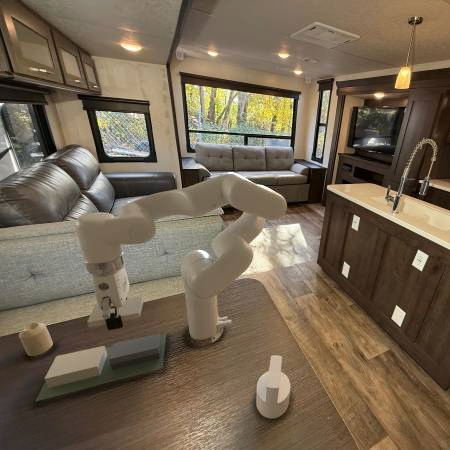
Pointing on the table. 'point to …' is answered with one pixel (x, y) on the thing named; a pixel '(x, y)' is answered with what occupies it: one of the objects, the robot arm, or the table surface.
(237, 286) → the table surface
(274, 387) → the base with upright slab
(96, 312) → the white book
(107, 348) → the shelf board
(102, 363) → the white book
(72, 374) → the white book
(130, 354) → the grey book
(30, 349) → the candle
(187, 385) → the table surface
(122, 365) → the grey book
